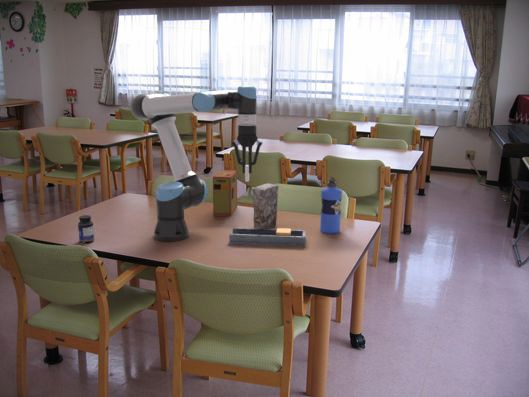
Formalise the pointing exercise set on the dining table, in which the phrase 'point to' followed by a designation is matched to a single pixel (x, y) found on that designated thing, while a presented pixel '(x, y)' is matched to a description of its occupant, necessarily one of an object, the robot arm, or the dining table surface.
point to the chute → (266, 237)
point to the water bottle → (330, 208)
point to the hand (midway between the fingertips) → (247, 180)
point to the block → (283, 232)
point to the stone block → (265, 205)
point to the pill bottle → (85, 229)
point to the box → (224, 193)
